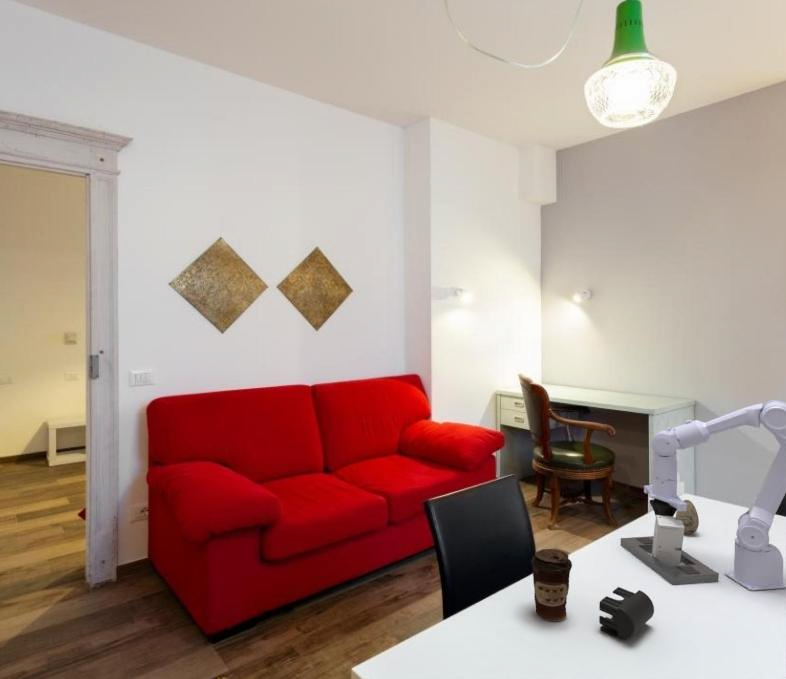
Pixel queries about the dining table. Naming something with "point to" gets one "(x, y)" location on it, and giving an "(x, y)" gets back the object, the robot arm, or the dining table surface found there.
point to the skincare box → (668, 540)
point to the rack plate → (673, 574)
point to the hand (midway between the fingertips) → (663, 528)
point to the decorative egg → (689, 518)
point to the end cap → (625, 613)
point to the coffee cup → (551, 583)
